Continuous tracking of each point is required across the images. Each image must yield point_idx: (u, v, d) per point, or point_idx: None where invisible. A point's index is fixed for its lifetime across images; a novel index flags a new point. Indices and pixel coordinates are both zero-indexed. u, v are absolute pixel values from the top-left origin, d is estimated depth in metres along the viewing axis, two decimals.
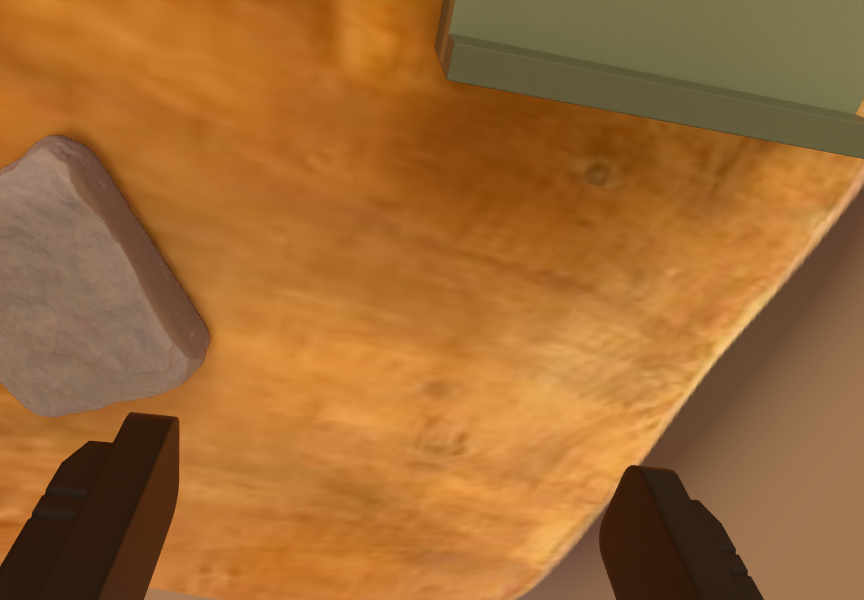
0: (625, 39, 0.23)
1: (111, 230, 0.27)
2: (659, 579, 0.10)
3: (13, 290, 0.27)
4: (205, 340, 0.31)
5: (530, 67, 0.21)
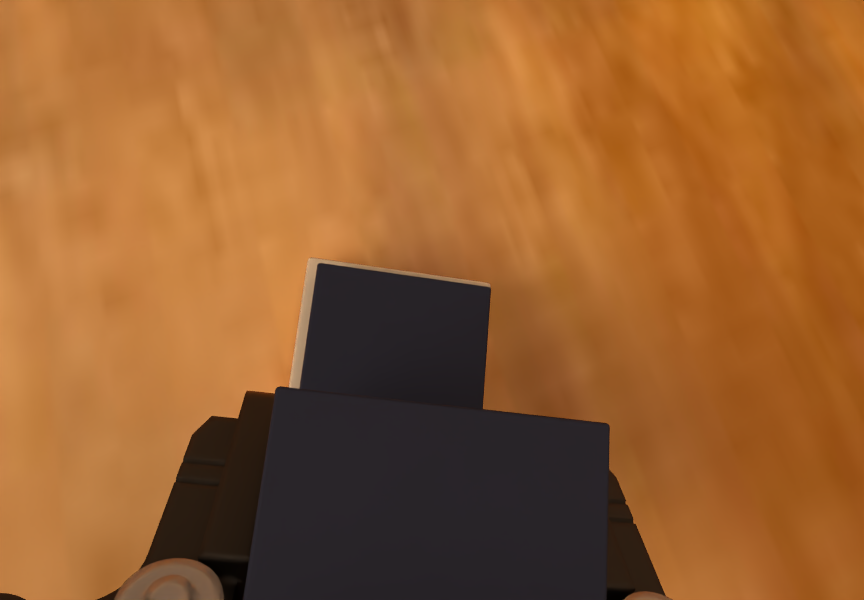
0: None
1: None
2: None
3: None
4: None
5: None
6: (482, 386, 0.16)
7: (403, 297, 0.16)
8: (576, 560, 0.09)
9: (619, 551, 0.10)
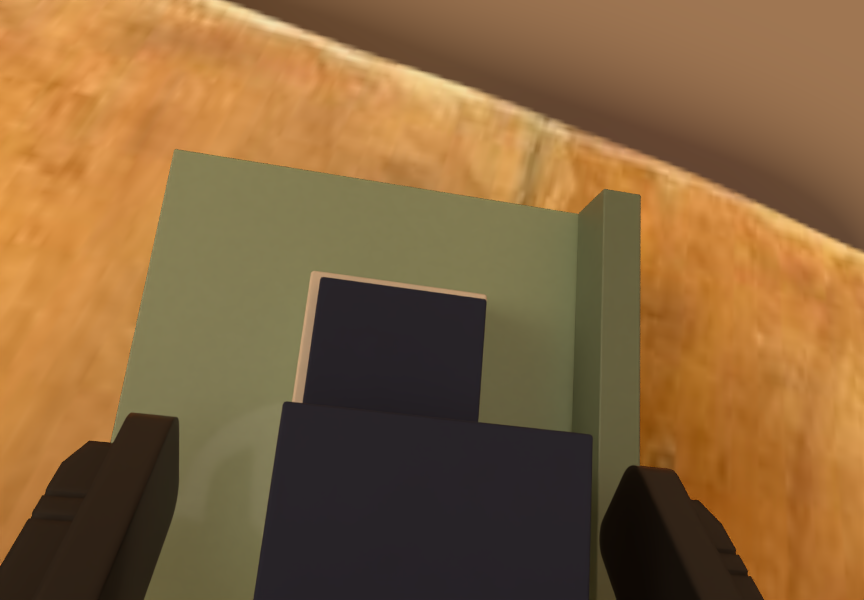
0: None
1: None
2: (659, 579, 0.10)
3: None
4: None
5: None
6: (478, 395, 0.17)
7: (402, 309, 0.17)
8: (561, 561, 0.09)
9: None
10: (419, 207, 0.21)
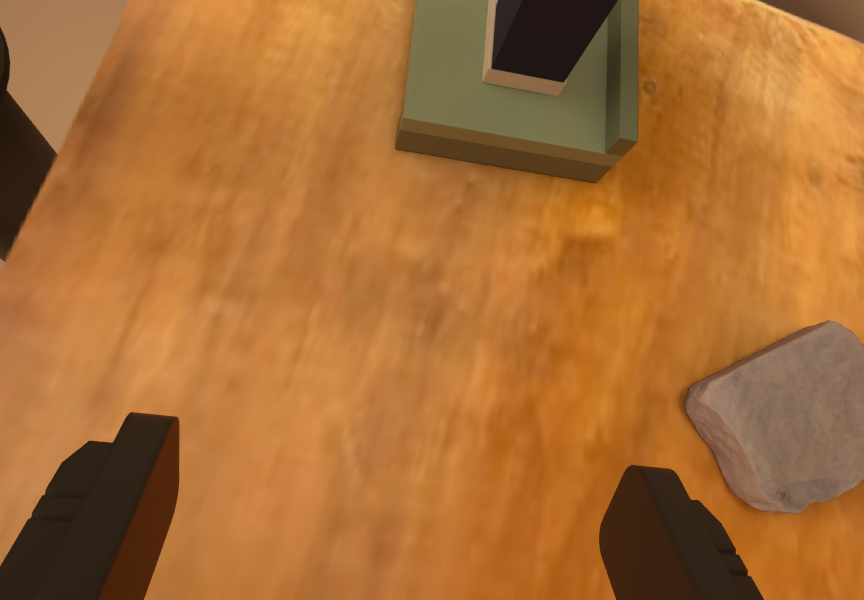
0: (593, 65, 0.42)
1: (747, 362, 0.40)
2: (659, 579, 0.10)
3: (802, 430, 0.39)
4: (810, 326, 0.44)
5: (624, 100, 0.40)
6: None
7: None
8: None
9: None
10: None
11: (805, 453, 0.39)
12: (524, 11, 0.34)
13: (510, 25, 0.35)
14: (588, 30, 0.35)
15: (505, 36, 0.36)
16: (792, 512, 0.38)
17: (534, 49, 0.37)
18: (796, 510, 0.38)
